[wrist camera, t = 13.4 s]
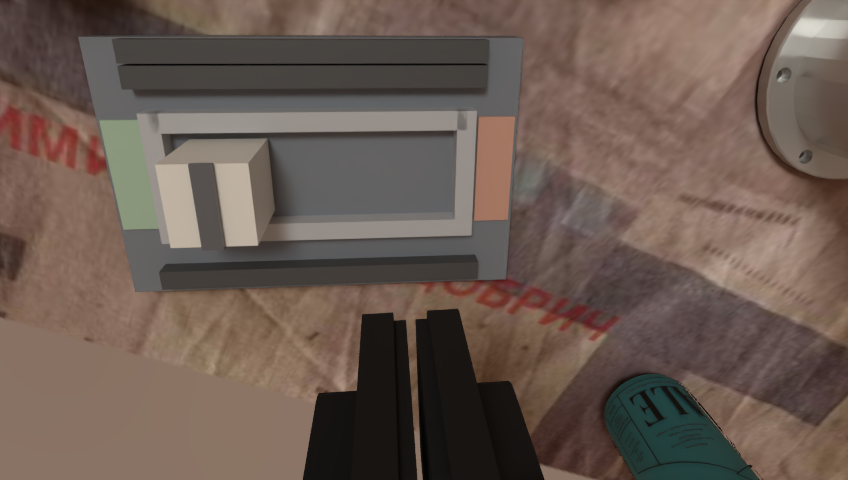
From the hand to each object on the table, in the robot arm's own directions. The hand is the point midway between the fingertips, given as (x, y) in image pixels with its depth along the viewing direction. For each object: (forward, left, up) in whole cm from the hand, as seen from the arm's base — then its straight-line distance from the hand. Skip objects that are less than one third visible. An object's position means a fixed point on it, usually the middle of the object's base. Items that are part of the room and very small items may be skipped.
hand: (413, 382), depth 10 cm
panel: (+4, +2, -24) cm, 24 cm away
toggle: (+8, +2, -21) cm, 23 cm away
